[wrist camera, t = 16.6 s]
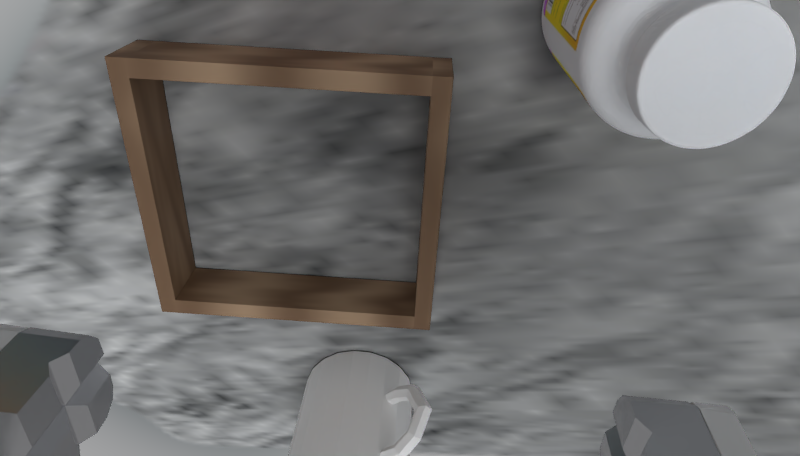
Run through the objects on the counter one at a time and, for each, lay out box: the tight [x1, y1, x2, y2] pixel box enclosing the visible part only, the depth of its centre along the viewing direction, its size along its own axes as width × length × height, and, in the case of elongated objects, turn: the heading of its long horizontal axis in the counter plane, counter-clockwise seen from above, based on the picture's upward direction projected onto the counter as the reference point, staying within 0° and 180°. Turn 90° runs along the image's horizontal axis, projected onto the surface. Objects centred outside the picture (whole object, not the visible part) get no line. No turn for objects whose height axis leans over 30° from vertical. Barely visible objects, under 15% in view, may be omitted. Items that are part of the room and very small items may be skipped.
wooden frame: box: [105, 40, 454, 330], centre depth 33 cm, size 17×16×4 cm
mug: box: [288, 351, 432, 456], centre depth 38 cm, size 8×12×10 cm
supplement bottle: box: [541, 0, 796, 149], centre depth 23 cm, size 7×7×13 cm
